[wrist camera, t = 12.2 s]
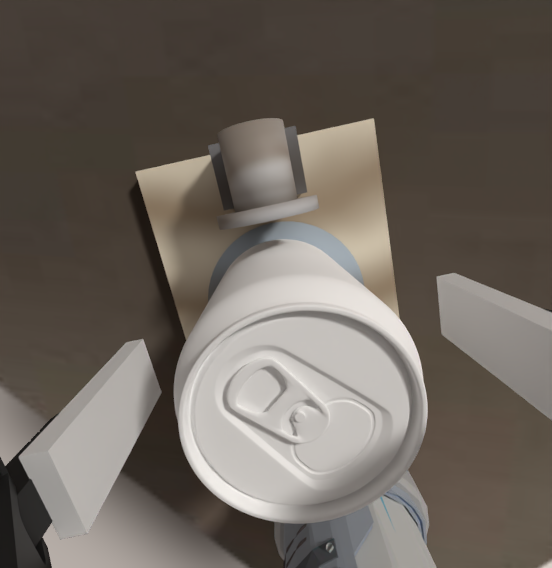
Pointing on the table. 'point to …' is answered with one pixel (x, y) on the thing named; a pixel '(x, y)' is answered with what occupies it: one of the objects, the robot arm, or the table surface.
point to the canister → (363, 535)
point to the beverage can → (298, 389)
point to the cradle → (270, 206)
